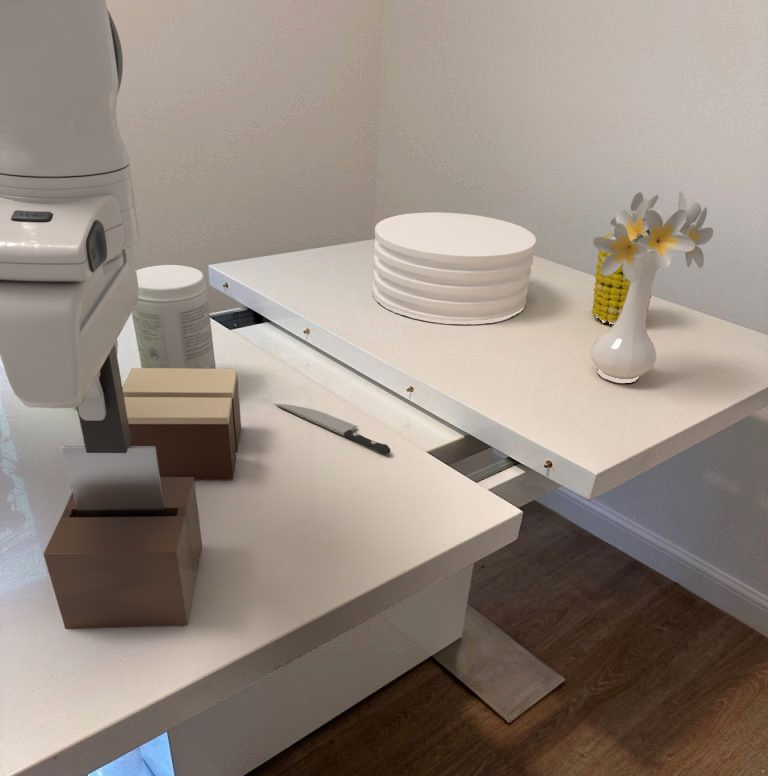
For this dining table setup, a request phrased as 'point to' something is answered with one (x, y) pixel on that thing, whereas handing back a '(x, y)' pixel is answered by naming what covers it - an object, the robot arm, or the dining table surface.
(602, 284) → the food
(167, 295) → the supplement tub
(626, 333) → the flower vase
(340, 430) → the chef's knife
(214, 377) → the cake
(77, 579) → the knife block
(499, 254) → the plate stack
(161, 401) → the cake slice
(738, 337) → the dining table surface
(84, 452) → the knife
